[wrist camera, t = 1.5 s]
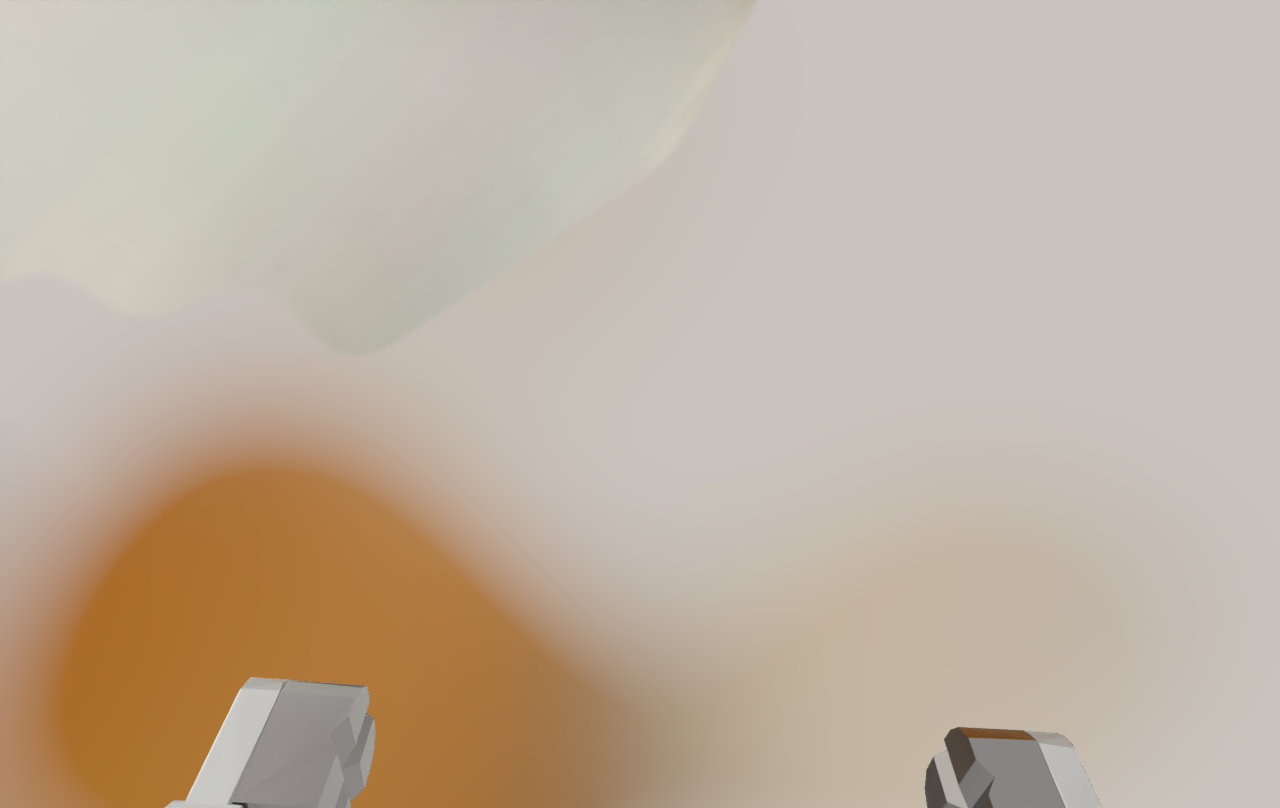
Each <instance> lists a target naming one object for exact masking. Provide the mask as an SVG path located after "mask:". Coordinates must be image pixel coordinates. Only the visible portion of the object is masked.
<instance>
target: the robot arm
mask: <svg viewBox="0 0 1280 808" xmlns="http://www.w3.org/2000/svg"><path fill="white" fill-rule="evenodd" d="M369 701H370V697H369V693H368V689H367V686H364V685H349V684H334V683H320V682H307V681H294V680H288V679H270V678H254V677H251V678H249V680H248V681H247V682H246V683H245V684H244V686H243V687H242V688H241V689H240V690H239V692H238V694H237V696H236V698H235V700H234V702H233V704H232V707H231V709H230V711H229V713H228V715H227V717H226V719H225V721H224V723H223V725H222V727H221V729H220V731H219V733H218V735H217V737H216V739H215V741H214V743H213V745H212V748H211V749H210V752H209V754H208V756H207V758H206V760H205V762H204V764H203V766H202V768H201V770H200V772H199V774H198V776H197V778H196V781H195V782H194V784H193V787H192V788H191V790H190V792H189V795H188V797H187V799H186V801H172V802H171V803H170V804H169V805H168V806H166V807H165V808H351V805H350V801H351V800H353V799H354V798H355V797H356V796H357V795H358V794H359V793H360V792H361V791H362V790H363V789H364V788H365V785H366V781H367V778H368V775H369V771H370V767H371V763H372V757H373V751H374V745H375V724H374V718H372V717H371V716H370V715H369V714H368V713H366V710H367V708H368V705H369ZM944 741H945V744H946V747H947V750H946V751H944V752H942V753H940V754H938V755H936V756H934V757H933V758H932V760H931V763H930V764H929V766H928V768H927V770H926V781H925V794H926V802H927V807H928V808H1102V805H1101V803H1100V801H1099V799H1098V797H1097V795H1096V793H1095V791H1094V789H1093V786H1092V784H1091V782H1090V780H1089V778H1088V776H1087V774H1086V772H1085V769H1084V767H1083V765H1082V763H1081V761H1080V759H1079V757H1078V755H1077V753H1076V750H1075V748H1074V746H1073V744H1072V743H1071V742H1070V741H1069V740H1068V739H1067V738H1066V737H1065V736H1063V735H1060V734H1058V733H1046V732H1030V731H1023V730H1005V729H985V728H984V729H983V728H964V727H957V728H954V729H951V730H950V731H949V733H948V734H947V736H946V737H945V739H944Z"/></svg>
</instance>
